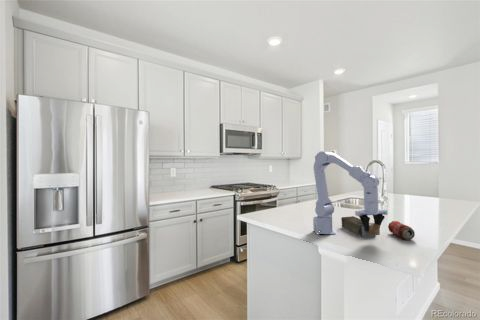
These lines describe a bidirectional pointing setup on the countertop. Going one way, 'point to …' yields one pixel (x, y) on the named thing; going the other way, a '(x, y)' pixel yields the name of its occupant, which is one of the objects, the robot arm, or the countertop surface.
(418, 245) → the countertop surface
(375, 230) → the walnut block
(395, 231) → the beverage can
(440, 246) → the countertop surface
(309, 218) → the countertop surface
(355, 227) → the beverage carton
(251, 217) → the countertop surface
